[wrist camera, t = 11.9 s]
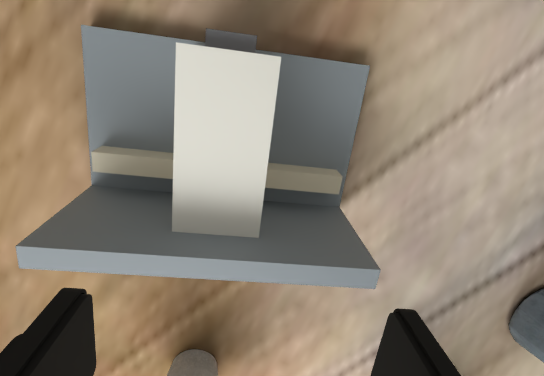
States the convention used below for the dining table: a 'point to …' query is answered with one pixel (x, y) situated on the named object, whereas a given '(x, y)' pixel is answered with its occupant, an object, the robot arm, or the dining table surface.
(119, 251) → the cleat board
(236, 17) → the dining table surface
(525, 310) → the moka pot
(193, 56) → the cream rectangular block
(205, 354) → the house plant
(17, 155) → the dining table surface
